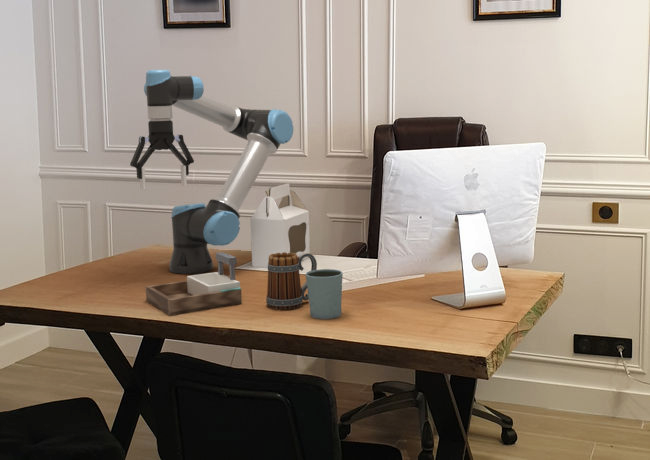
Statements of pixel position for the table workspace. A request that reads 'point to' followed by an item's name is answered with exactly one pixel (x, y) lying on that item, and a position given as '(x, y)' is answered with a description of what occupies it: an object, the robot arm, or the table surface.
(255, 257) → the gable box
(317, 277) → the teal coffee mug
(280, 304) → the mug
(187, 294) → the bay
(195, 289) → the white box with handle
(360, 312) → the table surface
